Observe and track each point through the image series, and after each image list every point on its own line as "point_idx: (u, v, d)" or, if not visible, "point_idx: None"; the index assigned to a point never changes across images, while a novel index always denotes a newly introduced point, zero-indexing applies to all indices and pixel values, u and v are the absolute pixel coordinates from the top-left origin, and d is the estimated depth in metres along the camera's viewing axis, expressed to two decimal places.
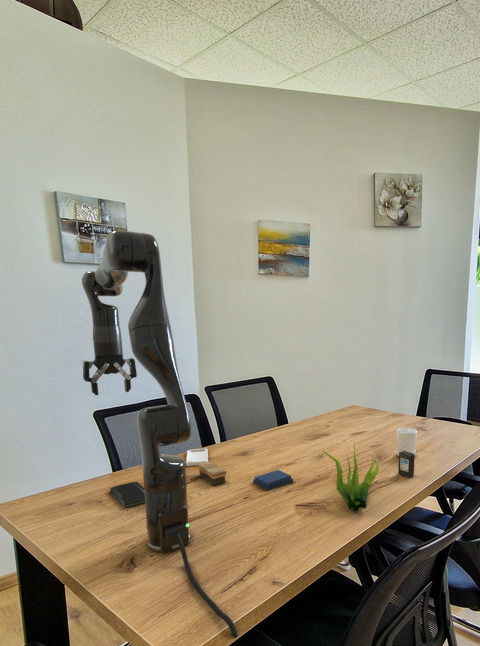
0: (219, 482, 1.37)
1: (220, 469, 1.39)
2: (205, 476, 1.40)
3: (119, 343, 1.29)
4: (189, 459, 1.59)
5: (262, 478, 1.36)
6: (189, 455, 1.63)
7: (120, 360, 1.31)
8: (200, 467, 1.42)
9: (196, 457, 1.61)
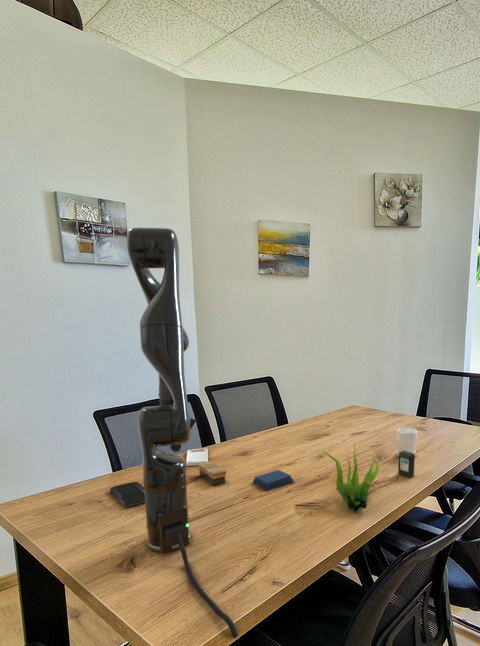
0: (219, 482, 1.37)
1: (220, 469, 1.39)
2: (205, 476, 1.40)
3: None
4: (189, 459, 1.59)
5: (262, 478, 1.36)
6: (189, 455, 1.63)
7: None
8: (200, 467, 1.42)
9: (196, 457, 1.61)
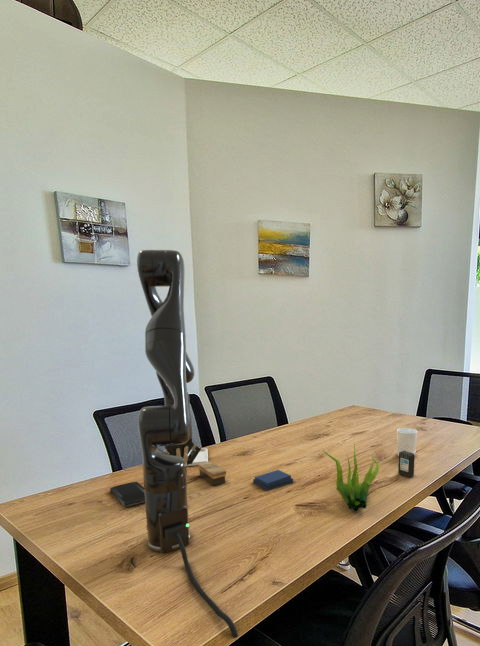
0: (219, 482, 1.37)
1: (220, 469, 1.39)
2: (205, 476, 1.40)
3: (190, 428, 1.31)
4: None
5: (262, 478, 1.36)
6: None
7: (190, 443, 1.34)
8: (200, 467, 1.42)
9: (196, 457, 1.61)
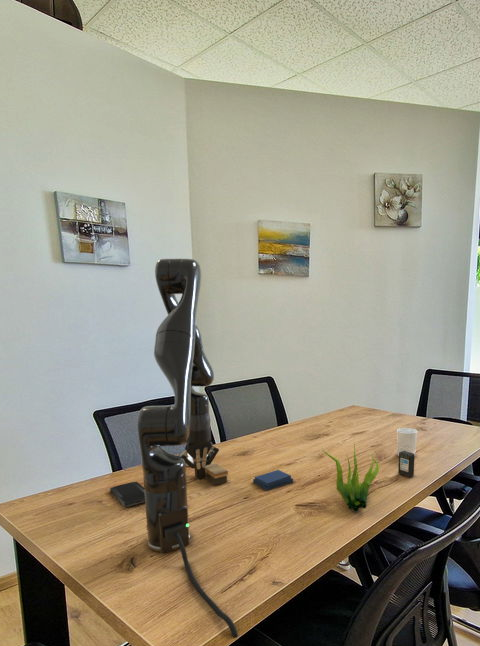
0: (221, 482, 1.37)
1: (222, 469, 1.39)
2: (207, 476, 1.40)
3: (209, 429, 1.35)
4: (189, 459, 1.59)
5: (262, 478, 1.36)
6: (189, 455, 1.63)
7: (208, 444, 1.38)
8: None
9: None
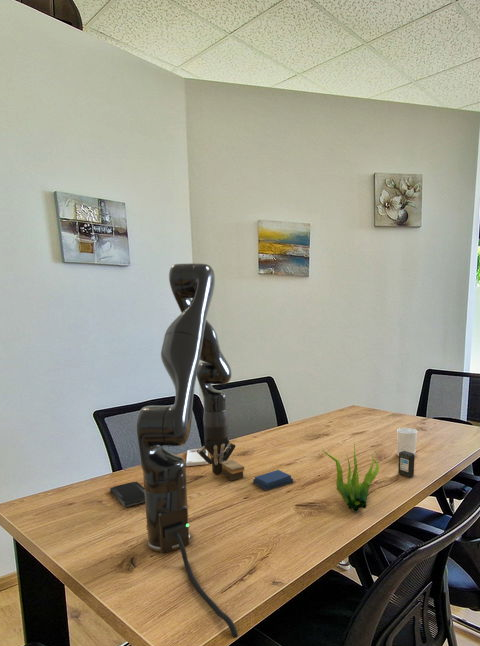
0: (237, 477, 1.41)
1: (238, 464, 1.43)
2: (224, 472, 1.44)
3: (226, 426, 1.39)
4: (189, 459, 1.59)
5: (262, 478, 1.36)
6: (189, 455, 1.63)
7: (225, 441, 1.41)
8: None
9: (196, 457, 1.61)
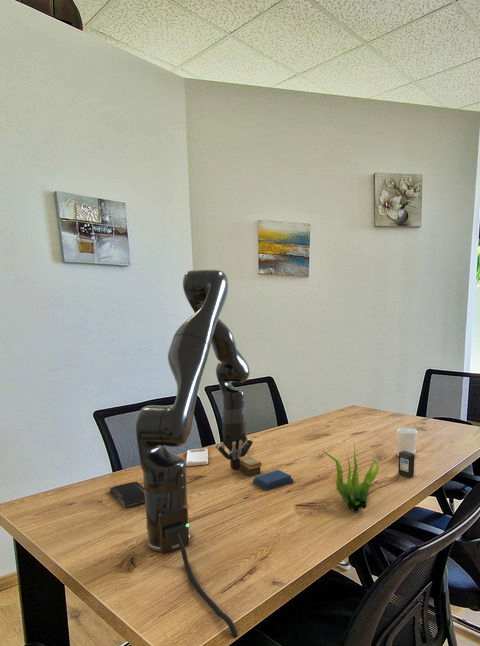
0: (255, 472, 1.45)
1: (255, 460, 1.47)
2: (241, 467, 1.48)
3: (244, 423, 1.43)
4: (189, 459, 1.59)
5: (262, 478, 1.36)
6: (189, 455, 1.63)
7: (243, 437, 1.46)
8: None
9: (196, 457, 1.61)
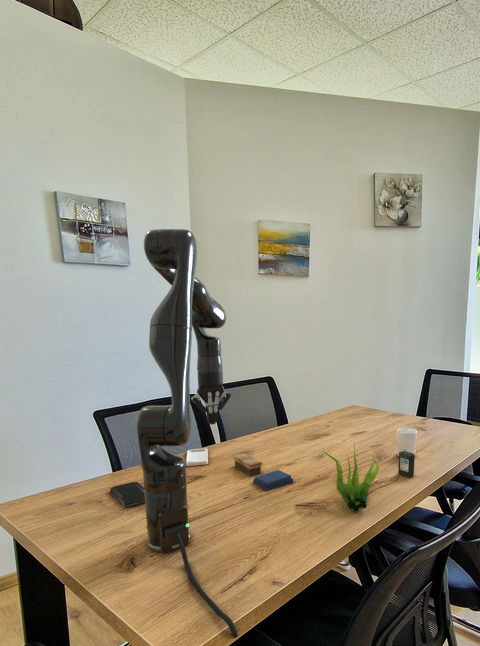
0: (255, 472, 1.45)
1: (256, 460, 1.47)
2: (242, 467, 1.48)
3: (221, 373, 1.35)
4: (189, 459, 1.59)
5: (262, 478, 1.36)
6: (189, 455, 1.63)
7: (220, 389, 1.37)
8: (236, 459, 1.50)
9: (196, 457, 1.61)
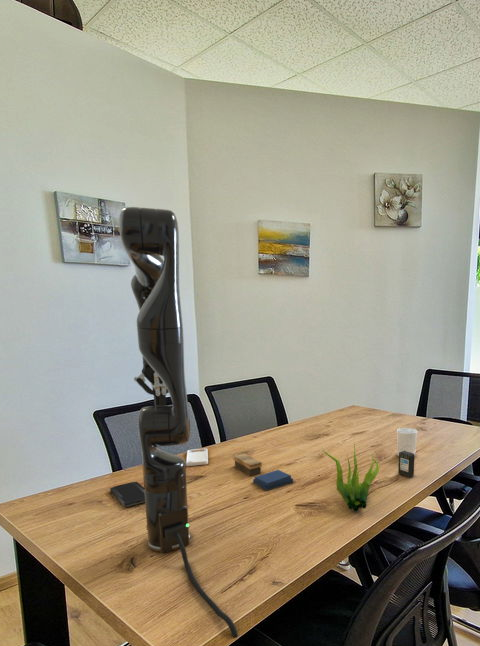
0: (255, 472, 1.45)
1: (256, 460, 1.47)
2: (242, 467, 1.48)
3: None
4: (189, 459, 1.59)
5: (262, 478, 1.36)
6: (189, 455, 1.63)
7: None
8: (236, 459, 1.50)
9: (196, 457, 1.61)
